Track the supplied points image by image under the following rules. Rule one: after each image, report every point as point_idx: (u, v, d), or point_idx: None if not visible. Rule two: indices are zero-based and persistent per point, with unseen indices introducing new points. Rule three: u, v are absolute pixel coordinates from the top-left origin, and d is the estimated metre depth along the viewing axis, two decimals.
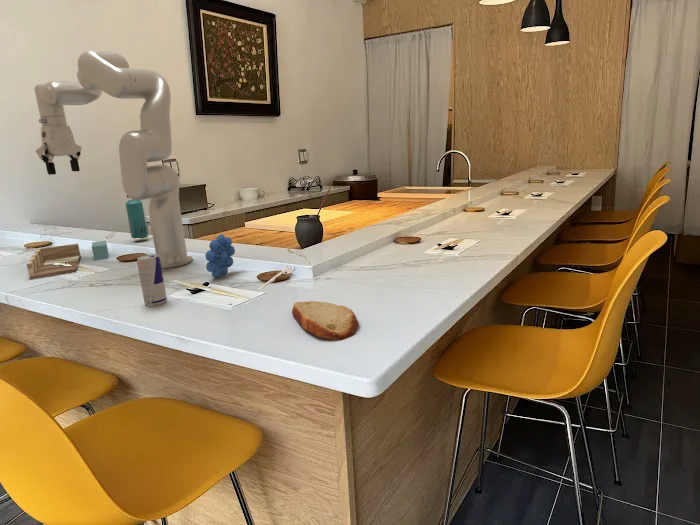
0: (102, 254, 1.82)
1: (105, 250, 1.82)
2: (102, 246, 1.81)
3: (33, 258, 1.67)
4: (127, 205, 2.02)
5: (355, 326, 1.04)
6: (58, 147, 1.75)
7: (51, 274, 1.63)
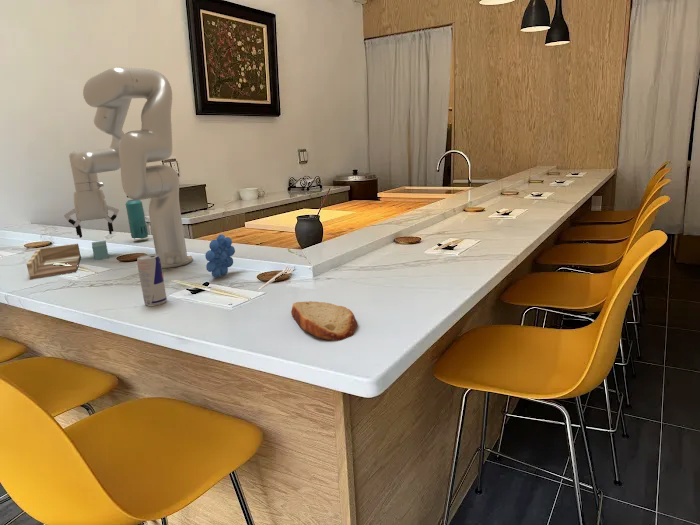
0: (102, 254, 1.82)
1: (105, 250, 1.82)
2: (102, 246, 1.81)
3: (33, 258, 1.67)
4: (127, 205, 2.02)
5: (354, 326, 1.04)
6: None
7: (51, 274, 1.63)
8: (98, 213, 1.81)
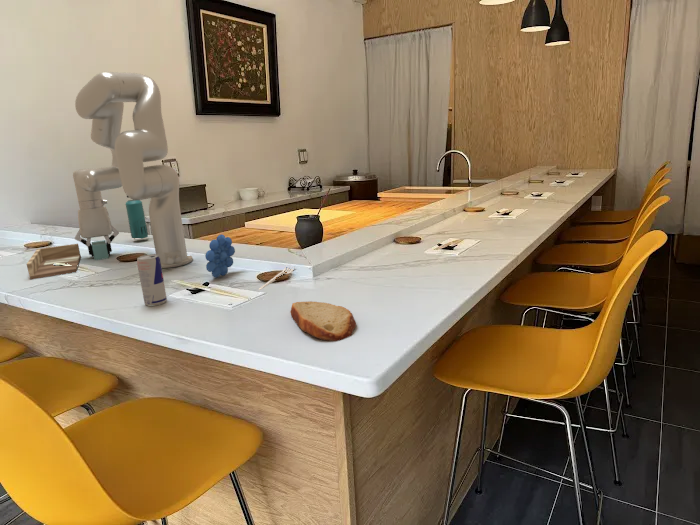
0: (102, 253, 1.82)
1: (105, 249, 1.82)
2: (102, 245, 1.81)
3: (33, 258, 1.67)
4: (127, 205, 2.02)
5: (352, 327, 1.04)
6: None
7: (51, 274, 1.63)
8: (102, 230, 1.82)
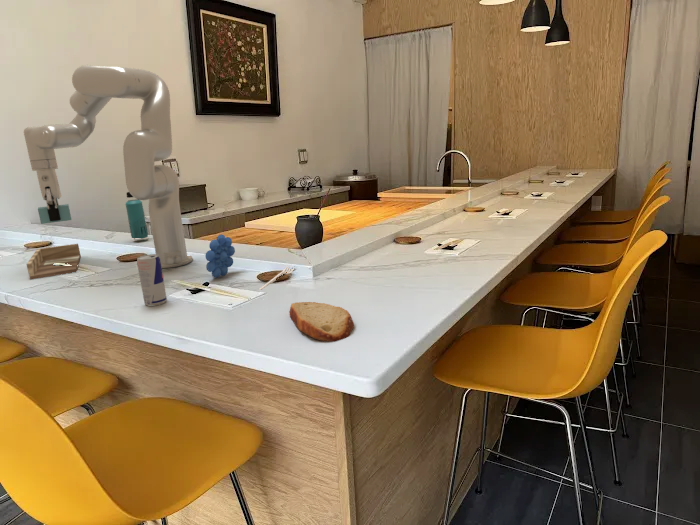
0: None
1: (39, 214, 1.71)
2: (38, 209, 1.71)
3: (33, 258, 1.67)
4: (127, 205, 2.02)
5: (350, 328, 1.03)
6: (58, 190, 1.72)
7: (51, 274, 1.63)
8: None
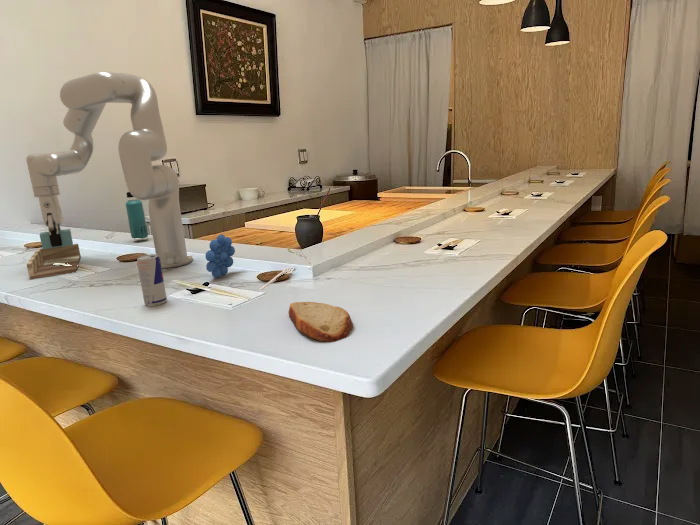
0: None
1: None
2: (40, 235, 1.73)
3: (33, 258, 1.67)
4: (127, 205, 2.02)
5: (349, 328, 1.03)
6: (60, 216, 1.73)
7: (51, 274, 1.63)
8: None
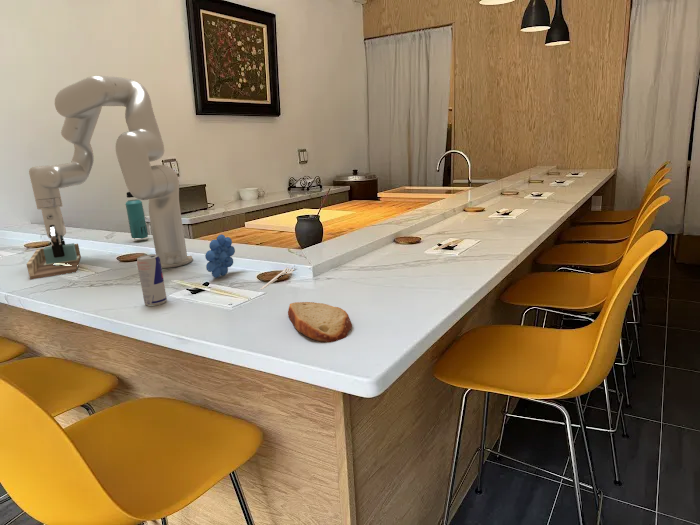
0: None
1: None
2: (44, 250, 1.75)
3: (33, 258, 1.67)
4: (127, 205, 2.02)
5: (347, 328, 1.03)
6: (63, 227, 1.74)
7: (51, 274, 1.63)
8: None
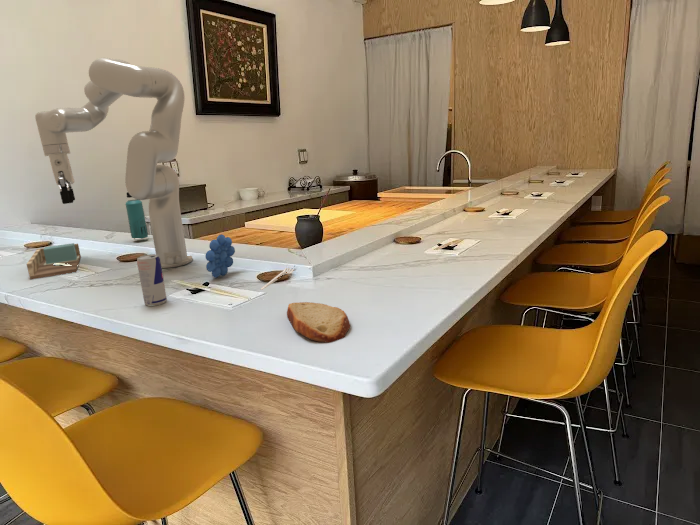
0: None
1: None
2: (44, 250, 1.75)
3: (33, 258, 1.67)
4: (127, 205, 2.02)
5: (346, 328, 1.03)
6: (71, 175, 1.71)
7: (51, 274, 1.63)
8: None
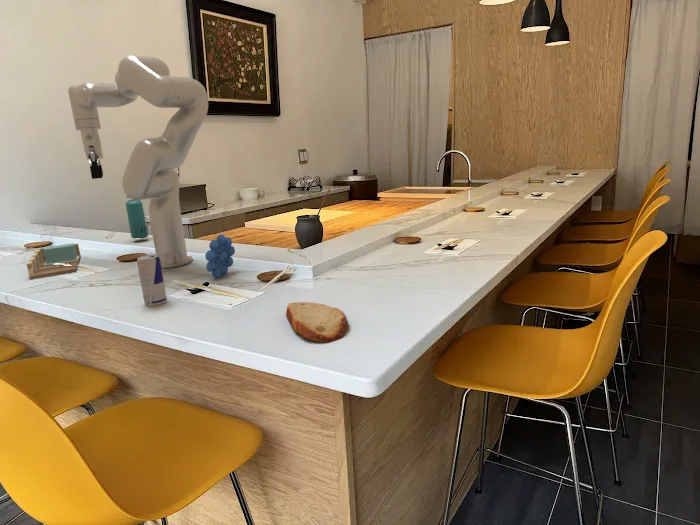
0: None
1: None
2: (44, 250, 1.75)
3: (33, 258, 1.67)
4: (127, 205, 2.02)
5: (344, 329, 1.03)
6: (101, 150, 1.71)
7: (51, 274, 1.63)
8: None
